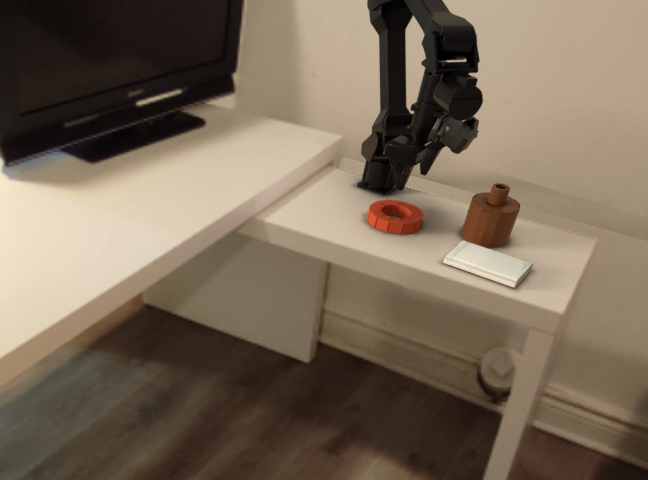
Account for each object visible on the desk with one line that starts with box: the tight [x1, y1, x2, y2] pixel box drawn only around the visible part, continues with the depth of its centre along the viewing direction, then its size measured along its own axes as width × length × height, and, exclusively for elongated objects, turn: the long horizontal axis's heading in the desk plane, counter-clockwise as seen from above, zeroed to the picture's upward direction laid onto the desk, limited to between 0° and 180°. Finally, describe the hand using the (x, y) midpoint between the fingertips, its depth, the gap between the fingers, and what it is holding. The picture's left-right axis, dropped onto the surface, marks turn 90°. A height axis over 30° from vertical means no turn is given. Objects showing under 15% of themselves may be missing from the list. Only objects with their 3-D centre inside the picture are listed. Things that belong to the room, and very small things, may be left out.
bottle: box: [460, 182, 521, 249], centre depth 144 cm, size 8×8×10 cm
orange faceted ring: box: [366, 199, 424, 235], centre depth 151 cm, size 10×10×2 cm
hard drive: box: [442, 239, 534, 289], centre depth 138 cm, size 2×8×12 cm
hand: (411, 182), depth 149 cm, fingers open, 9 cm apart
